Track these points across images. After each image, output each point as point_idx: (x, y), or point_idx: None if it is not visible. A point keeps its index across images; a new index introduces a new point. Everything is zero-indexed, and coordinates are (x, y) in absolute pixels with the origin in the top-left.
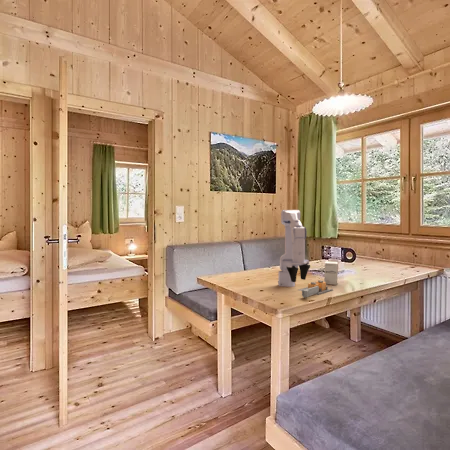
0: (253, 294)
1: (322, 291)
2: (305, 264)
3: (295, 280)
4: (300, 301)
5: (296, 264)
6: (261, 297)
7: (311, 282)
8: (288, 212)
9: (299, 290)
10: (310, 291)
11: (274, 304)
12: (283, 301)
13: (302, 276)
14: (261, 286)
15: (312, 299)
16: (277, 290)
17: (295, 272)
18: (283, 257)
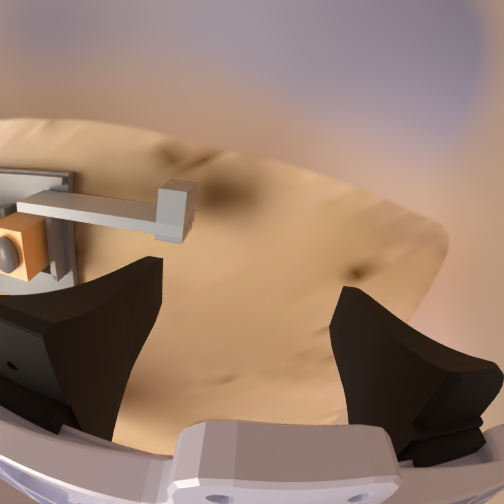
0: (289, 421)
1: (7, 196)
2: (38, 405)
3: (360, 292)
4: (249, 204)
5: (463, 466)
6: (314, 386)
7: (7, 270)
8: None
9: None
10: (105, 206)
11: (394, 291)
12: (317, 284)
13: (150, 305)
14: (157, 438)
15: (150, 164)
16: (149, 386)
17: (442, 347)
18: (34, 500)
